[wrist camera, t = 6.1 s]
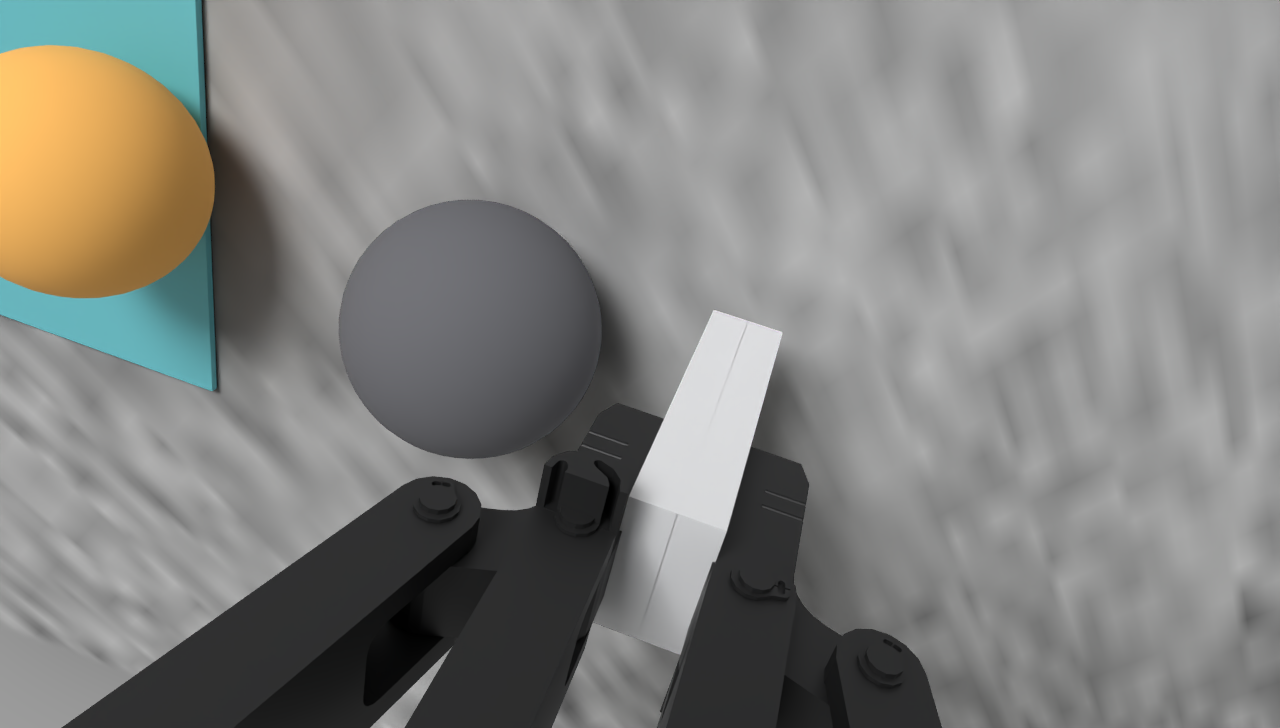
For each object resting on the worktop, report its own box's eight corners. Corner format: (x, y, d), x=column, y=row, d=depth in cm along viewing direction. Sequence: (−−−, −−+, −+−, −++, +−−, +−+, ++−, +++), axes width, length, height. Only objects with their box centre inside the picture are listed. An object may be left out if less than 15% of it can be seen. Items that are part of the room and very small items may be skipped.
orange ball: (91, 120, 16) (-185, 35, 16) (114, 372, 19) (-122, 296, 19) (263, 64, 21) (47, -1, 21) (261, 271, 23) (70, 212, 24)
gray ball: (307, 269, 15) (352, 150, 19) (327, 513, 18) (361, 360, 22) (632, 287, 16) (601, 169, 20) (598, 514, 19) (579, 368, 23)
